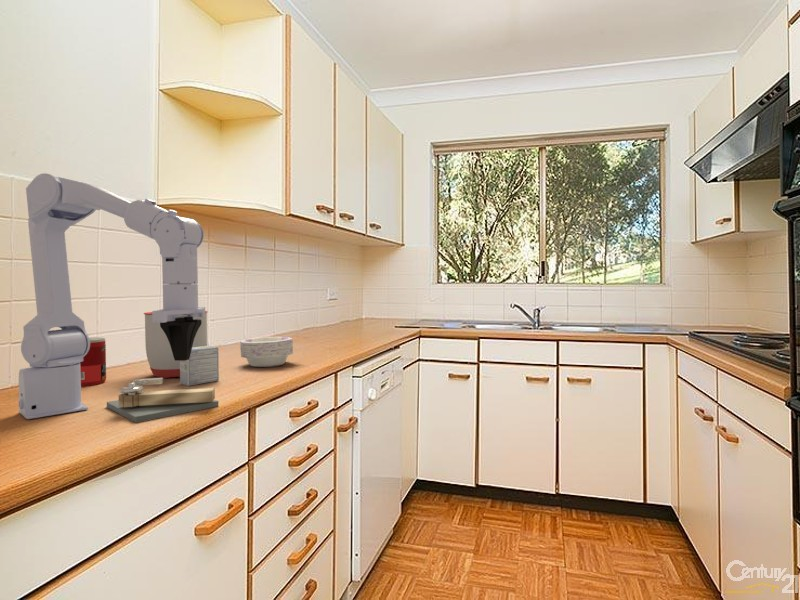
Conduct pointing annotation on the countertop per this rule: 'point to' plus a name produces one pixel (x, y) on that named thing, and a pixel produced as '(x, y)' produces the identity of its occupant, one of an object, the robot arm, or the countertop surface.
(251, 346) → the grey stone bowl
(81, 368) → the canned food
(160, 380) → the keeper
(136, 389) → the pintle
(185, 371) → the medicine box
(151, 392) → the link
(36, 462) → the countertop surface
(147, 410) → the base plate
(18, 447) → the countertop surface
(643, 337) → the countertop surface
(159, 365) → the citrus juicer
